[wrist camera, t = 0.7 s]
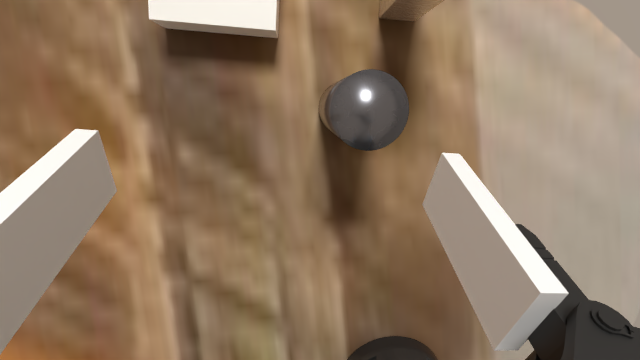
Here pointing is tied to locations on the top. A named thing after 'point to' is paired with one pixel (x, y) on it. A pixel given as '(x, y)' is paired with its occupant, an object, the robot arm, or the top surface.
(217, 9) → the socket block
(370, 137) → the round peg
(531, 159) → the top surface
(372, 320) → the top surface
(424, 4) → the square peg
